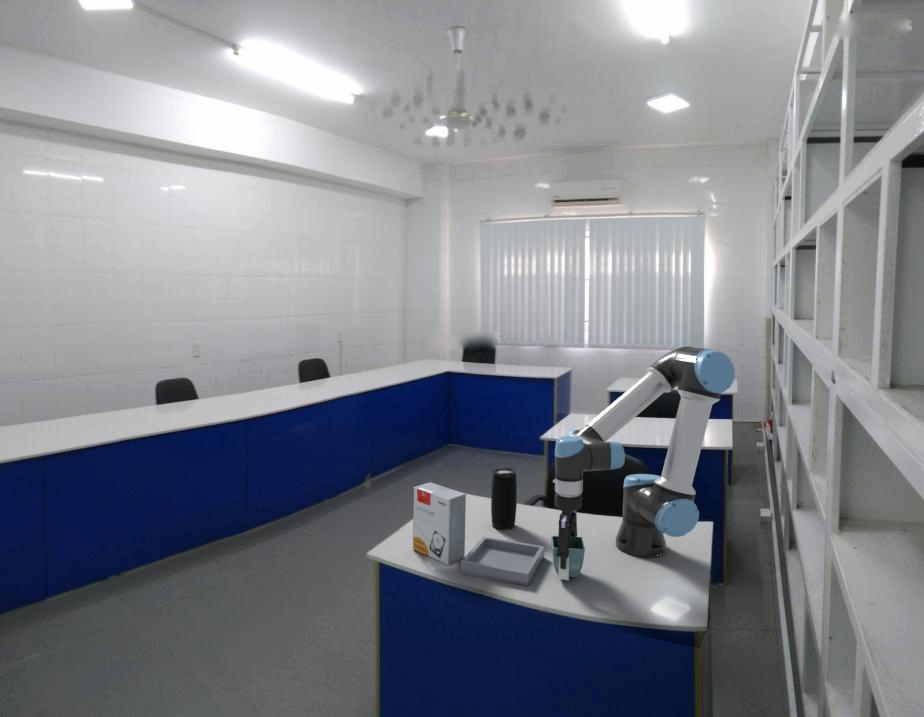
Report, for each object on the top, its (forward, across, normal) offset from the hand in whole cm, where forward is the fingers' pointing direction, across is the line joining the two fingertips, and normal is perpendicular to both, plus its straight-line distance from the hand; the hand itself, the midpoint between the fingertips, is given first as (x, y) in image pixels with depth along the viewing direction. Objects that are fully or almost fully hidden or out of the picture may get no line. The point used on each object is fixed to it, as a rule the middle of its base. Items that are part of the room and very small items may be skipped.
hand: (567, 571), depth 166 cm
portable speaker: (+2, -29, -27) cm, 40 cm away
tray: (+1, 0, -18) cm, 18 cm away
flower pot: (+1, 0, 0) cm, 1 cm away
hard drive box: (+1, 0, -39) cm, 39 cm away
